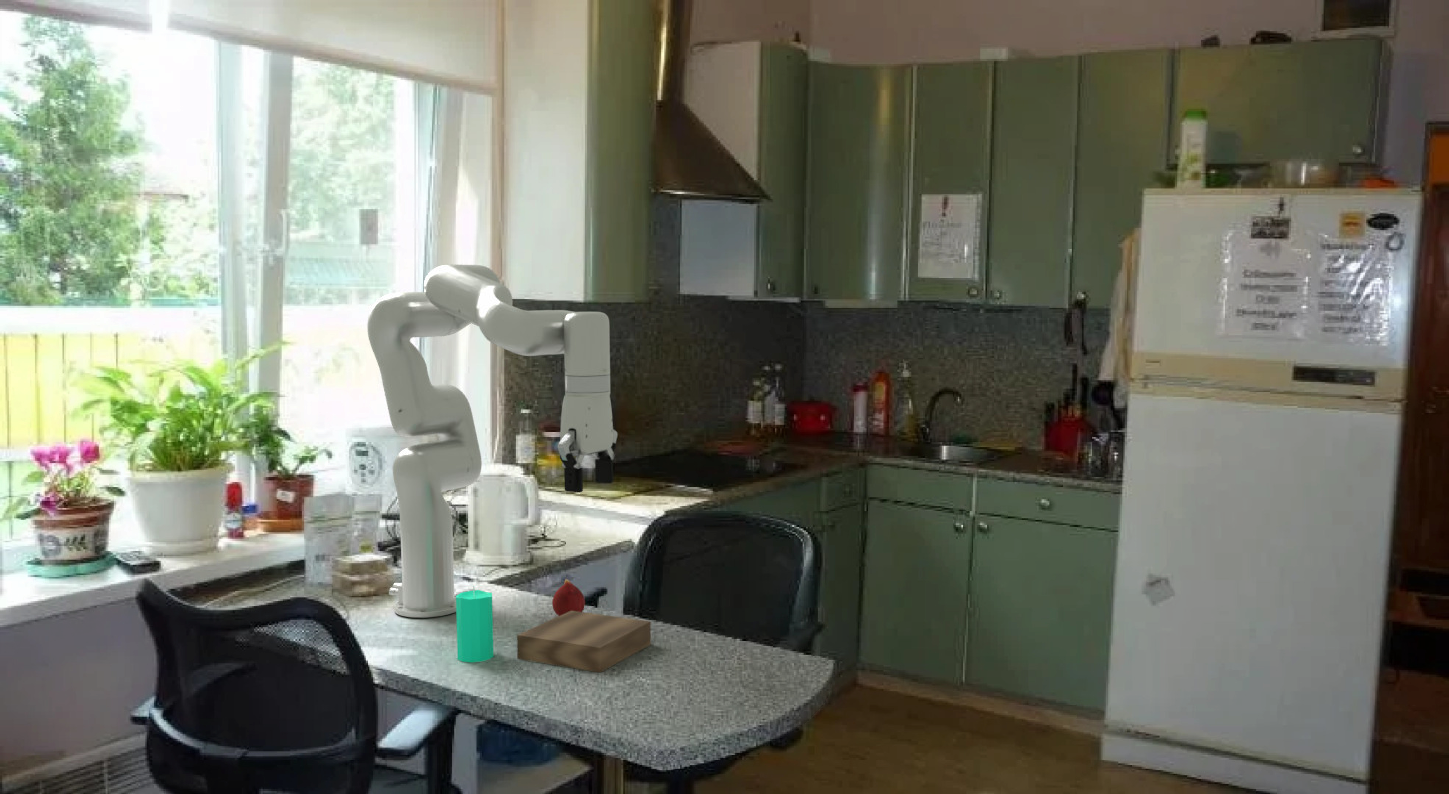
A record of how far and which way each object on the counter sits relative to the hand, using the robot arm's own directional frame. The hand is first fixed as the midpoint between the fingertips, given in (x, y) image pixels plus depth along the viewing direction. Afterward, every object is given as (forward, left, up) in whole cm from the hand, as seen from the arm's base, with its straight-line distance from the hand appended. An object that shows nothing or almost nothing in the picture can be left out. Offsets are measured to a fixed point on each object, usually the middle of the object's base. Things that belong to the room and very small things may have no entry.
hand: (589, 487), depth 195 cm
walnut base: (+1, -4, -27) cm, 27 cm away
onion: (-11, +9, -27) cm, 31 cm away
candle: (-14, -14, -27) cm, 34 cm away
